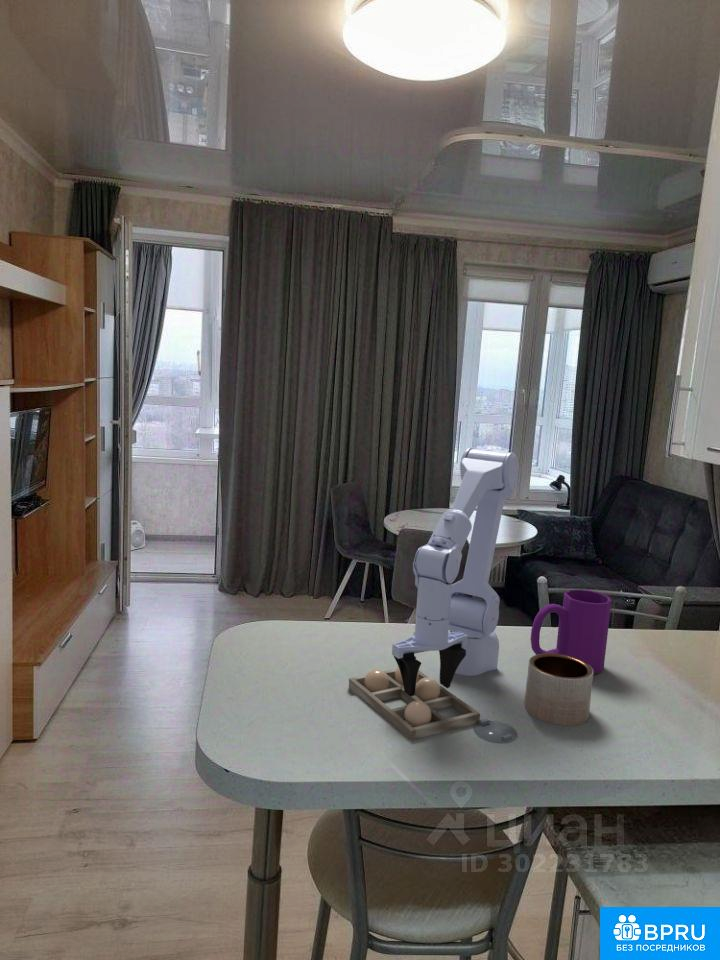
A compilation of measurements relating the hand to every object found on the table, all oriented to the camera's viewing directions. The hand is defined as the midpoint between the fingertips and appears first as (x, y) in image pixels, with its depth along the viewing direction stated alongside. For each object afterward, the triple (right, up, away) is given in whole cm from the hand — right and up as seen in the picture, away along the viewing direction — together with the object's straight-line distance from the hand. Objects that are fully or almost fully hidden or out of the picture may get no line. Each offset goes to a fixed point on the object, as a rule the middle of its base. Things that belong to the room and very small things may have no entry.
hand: (427, 689), depth 121 cm
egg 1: (-9, -2, +3) cm, 9 cm away
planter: (+22, -5, 0) cm, 23 cm away
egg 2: (-3, -1, +6) cm, 7 cm away
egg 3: (-3, -4, -8) cm, 9 cm away
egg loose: (0, -2, 0) cm, 2 cm away
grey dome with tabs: (+10, -5, -9) cm, 14 cm away
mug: (+30, -2, +22) cm, 37 cm away
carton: (-3, -3, -1) cm, 5 cm away
